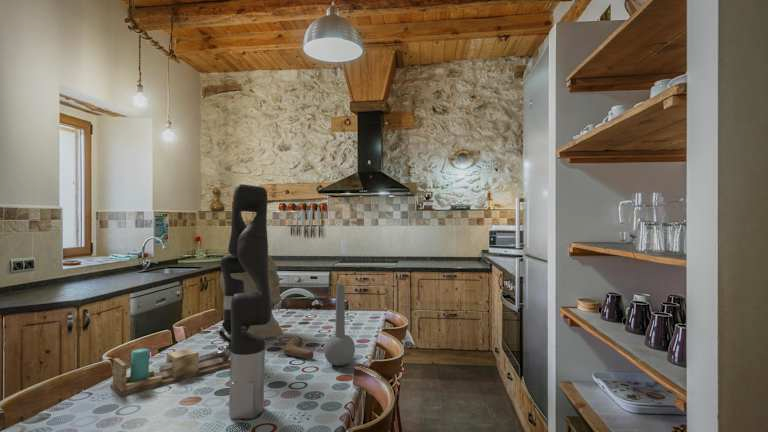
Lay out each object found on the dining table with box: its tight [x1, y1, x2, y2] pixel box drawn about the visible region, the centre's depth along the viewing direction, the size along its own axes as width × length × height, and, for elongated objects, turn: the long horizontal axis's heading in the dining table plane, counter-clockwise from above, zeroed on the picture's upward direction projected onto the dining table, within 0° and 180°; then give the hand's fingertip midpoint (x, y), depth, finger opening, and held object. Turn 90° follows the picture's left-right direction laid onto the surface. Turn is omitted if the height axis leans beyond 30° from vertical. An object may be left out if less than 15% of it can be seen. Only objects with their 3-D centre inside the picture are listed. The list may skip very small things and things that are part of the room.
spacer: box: [129, 348, 150, 383], centre depth 128 cm, size 5×5×10 cm
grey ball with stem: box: [323, 284, 356, 367], centre depth 154 cm, size 12×19×30 cm, turn 12°
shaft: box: [158, 345, 231, 372], centre depth 142 cm, size 24×5×5 cm, turn 139°
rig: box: [109, 347, 230, 397], centre depth 137 cm, size 37×11×9 cm, turn 139°
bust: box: [219, 254, 283, 340], centre depth 191 cm, size 25×28×40 cm
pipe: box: [283, 335, 315, 361], centre depth 161 cm, size 6×17×10 cm
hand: (232, 351), depth 152 cm, fingers closed
